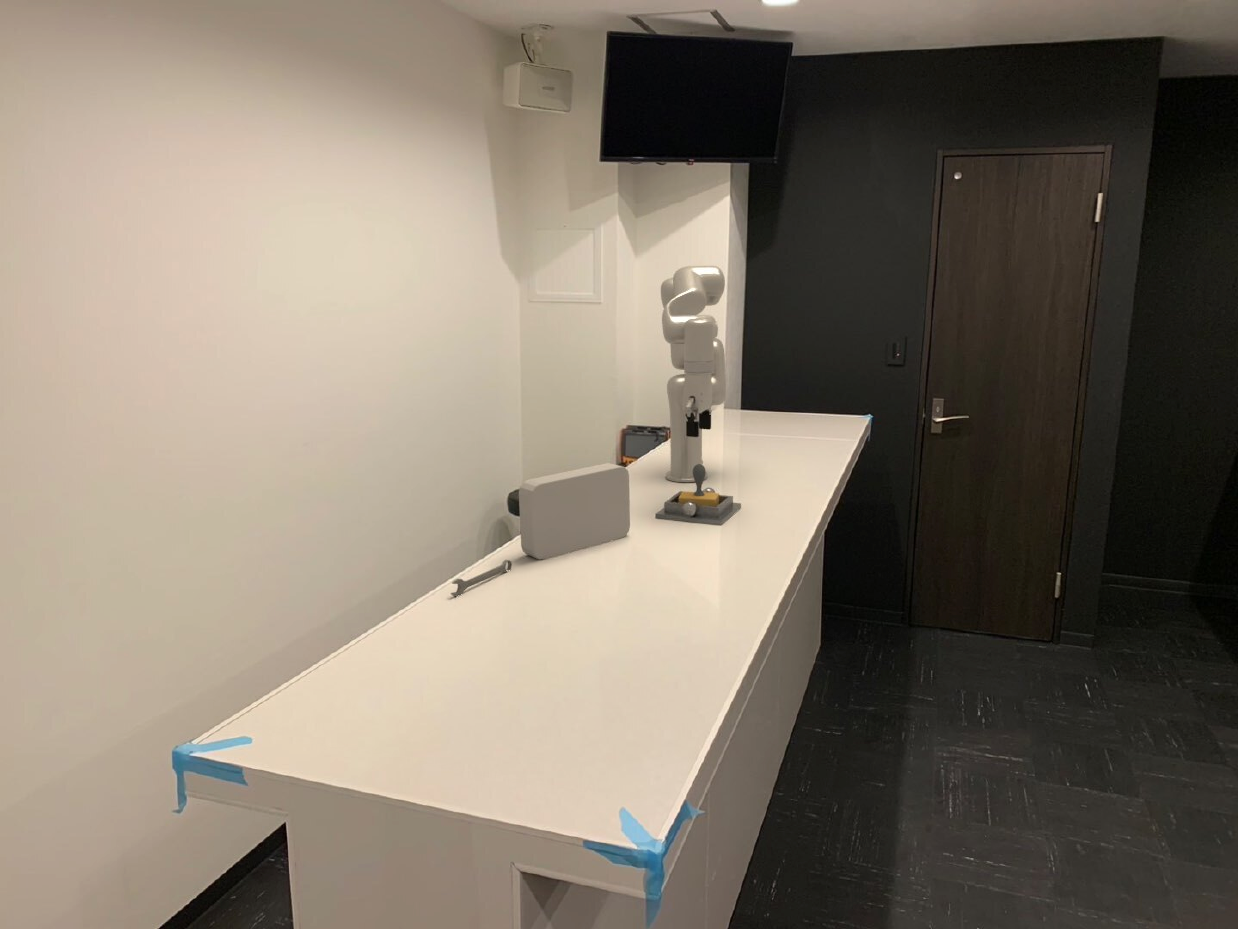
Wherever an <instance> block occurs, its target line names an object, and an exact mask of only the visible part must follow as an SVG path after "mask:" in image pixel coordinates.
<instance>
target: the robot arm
mask: <svg viewBox="0 0 1238 929" xmlns="http://www.w3.org/2000/svg"><path fill="white" fill-rule="evenodd" d="M725 286H726V280H725V275H724V272H723V270H722V269H721V268H720V267H719V266H716V265H688V266H682V267H680V268H678V269H677V270H676V271H675V273H674V274H673V277H671V278H667V279H664V280H663V281H662V283H661V286H660V300H661V304H662V307H663V310H662V314H661V325H662V334H663V338H664V340H665V341H666V342H667V344H670V346H669V347H670V358H671V360H670V361H671V364H672V367H673V368H674V369H675V370H679V371H680V370H683V372H684V373H682V374H681V373H680V374H679V373H678V374H675V375H673V376H671V377H670V378H669V379H668V381H667V383H666V384H667V385H666V392H667V399H668V404H669V421H670V422H669V427H670V430H669V431H670V433H669V434H670V435H669V436H670V438H669V439H670V444H669V445H670V471H667V472H666V473H665V478H666V480H668V481H672V482H677V483H696V482H695V480H694V477H693V468H694V466H695V465H697V464H701V465H704V461H703V430H711V429H712V406H720V405H722V404H724V402H725V401H726V399H727V398H726V397H727V380H726V379H727V378H726V376H727V375H726V374H727V373H726V359H725V358H726V357H725V356H726V354H725V348H724V344H723V342H722V340H721V339H720V338H717V337H718V332H719V327H718V325H719V324H718V321H717V320H716V319H715V318H714V317H713V316H712V315H710V314H701V313H702V312H703V311H704V309H705V308H706V306H707V307H708V306H709V307H710V306H715V305H717V304H718V303H719V302H720V299H721V298H722V296H723V294H724V291H725ZM707 478H708V473H707V472H706V474H705V478H704V481H705V480H706V479H707Z"/></svg>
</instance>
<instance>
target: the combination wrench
mask: <svg viewBox="0 0 1238 929" xmlns="http://www.w3.org/2000/svg"><path fill="white" fill-rule="evenodd" d="M512 564H513V563H512V561H511V560H510V559H504V560H503V561H502V563H501V564H500V565H499V566H496V567H493V568H491V569H488V571H485V572H482V573H481V574H478V575H476V576H474V577H471V578H470V579H467V580H463V579H462V578H457V579H455V580H453V581H452V582H451V584H453V585H457V589H456V591H455V592H450V595H451V596H452V597H455V596H458V595H460V596H462V595H463V594H464V592H465V591H466V590H467V589H468V588H470V587H472V586H474V585H476V584H478V583H481V582H483V581H486V580H488V579H491V578H492V577H495V576H497V575H499V574H502V573H508V572H507V571H506V570H510V571H511V570H512V566H513V565H512ZM506 566H507V567H506ZM506 568H507V569H506ZM461 594H462V595H461ZM458 597H459V596H458Z"/></svg>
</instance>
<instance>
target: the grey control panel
mask: <svg viewBox="0 0 1238 929" xmlns="http://www.w3.org/2000/svg"><path fill="white" fill-rule="evenodd" d="M518 505H519V528H520V544H521V545H520V547H521V550H522V552H523V553H525V555H528V556H529V557H531V558H534V559H536V560H541V559H544V560H546V559H545V558H547V559H551V558H554V556H555V557H558V556H561V554H562V555H564V553H566V554H568V552H569V553H572V551H573V552H575V551H576V550H577V551H581V550H583V548H584V549H587V547H588V548H591V547H594V546H598V545H601V544H606V543H609V542H612V541H611V540H613V541H617V540H619V539H623V538H625V537H626V536H627V535H628V534H629V532H630V528H631V516H630V514H631V511H630V508H631V506H630V505H631V504H630V474H629V470H628V469H627V468H626V467H625V466H622V465H618V464H614V463H610V462H606V463H603V464H602V463H600V464H596V465H591V466H587V467H582V468H578V469H573V470H568V471H564V472H558V473H553V474H549V475H543V476H540V477H534V478H530V479H527V480H525V481H522V483H521V485H520V486H519V489H518ZM590 546H591V547H590ZM557 555H558V556H557Z"/></svg>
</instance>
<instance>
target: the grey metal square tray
mask: <svg viewBox="0 0 1238 929" xmlns="http://www.w3.org/2000/svg"><path fill="white" fill-rule="evenodd" d="M702 491H703V492H706V493H716V491H715V490H714V488H712V487H706V488H704V489H702ZM682 492H684V490H683V491H681V490H680V491H679V492H677V493H676V494H674V495H673V496H671V497H670V498H669V499H667V500H665V502H664V503H663V505H664V506H663V508H661V509H660V510H659V511H657V512H656V513H655V519H661V520H669V521H676V522H677V521H678V522H685V523H686V522H687V523H695V524H697V523H698V524H706V525H716V526H722V525H724V524H723V523H724V522H725V521H726V522H727V521H728V520H730V518H731V517H733V516H734V515H735V514H736V513H737V512H738V511H739V510H740V509H742V503H741V502H740V503H739V502H734V496H732V495H722V494H719V505H718V506H717V507H714V506H704V505H697V504H696V503H695V502H693V501H689V502H687V503H686V504H684V503H679V496H680V495H681V493H682ZM738 509H739V510H738ZM737 510H738V511H737ZM736 511H737V512H736ZM735 512H736V513H735ZM734 513H735V514H734ZM733 514H734V515H733ZM726 522H725V523H726Z"/></svg>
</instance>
